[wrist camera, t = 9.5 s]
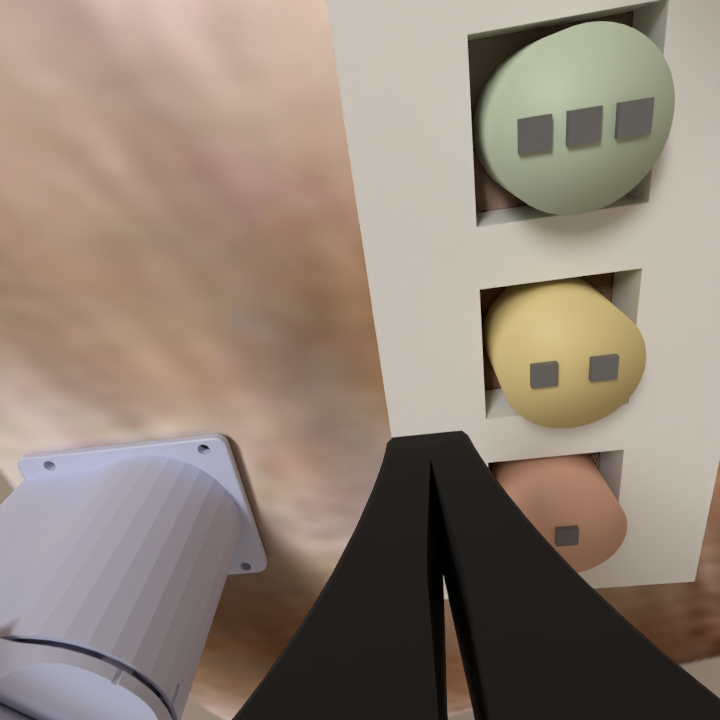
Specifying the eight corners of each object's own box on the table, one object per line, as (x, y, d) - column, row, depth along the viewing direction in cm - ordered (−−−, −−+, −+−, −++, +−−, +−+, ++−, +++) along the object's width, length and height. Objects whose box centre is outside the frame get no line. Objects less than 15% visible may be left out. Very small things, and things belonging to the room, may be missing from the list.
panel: (413, 565, 25) (416, 601, 23) (325, -39, 14) (317, -59, 12) (670, 545, 24) (694, 581, 22) (784, -131, 13) (848, -168, 11)
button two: (485, 387, 20) (504, 438, 17) (480, 280, 18) (500, 316, 15) (601, 374, 19) (642, 424, 16) (608, 263, 17) (656, 296, 14)
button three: (476, 205, 17) (497, 227, 14) (469, 51, 15) (491, 38, 12) (614, 185, 16) (667, 203, 13) (625, 24, 14) (691, 3, 11)
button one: (491, 520, 23) (508, 583, 20) (487, 441, 21) (505, 498, 18) (591, 511, 22) (624, 575, 19) (597, 430, 21) (635, 486, 18)
